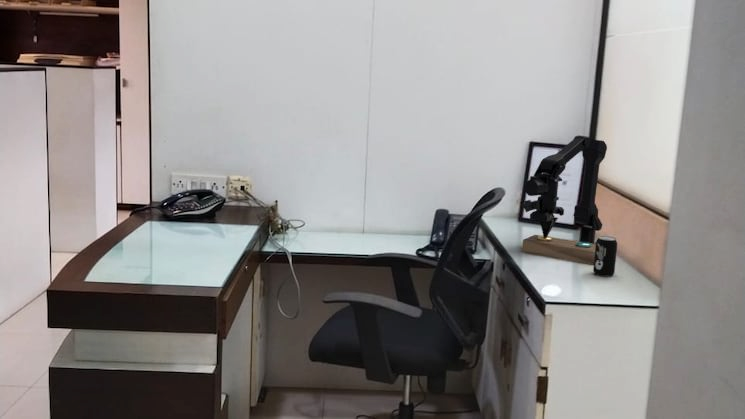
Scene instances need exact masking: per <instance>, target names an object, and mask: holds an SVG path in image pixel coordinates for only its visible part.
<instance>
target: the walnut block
mask: <svg viewBox="0 0 745 419" xmlns="http://www.w3.org/2000/svg"><path fill="white" fill-rule="evenodd" d="M538 236H542V235H540V234H533V235H531V236H529V237H526V238H524V239H522V247H521V253H524V254H529V255H535V256H541V257H542V256H543V257H547V258H552V259H559V260H564V261H565V260H566V261H571V262H575V263H576V262H577V263H581V264H587V265H592V266H594V257H595V247H596V244H591V247H590V248H583V247H578V246H576V242H578V241H579V240H572V239H565V238H559V237H552V236H551V237H552V241H550V242H547V241H540V240H538Z"/></svg>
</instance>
